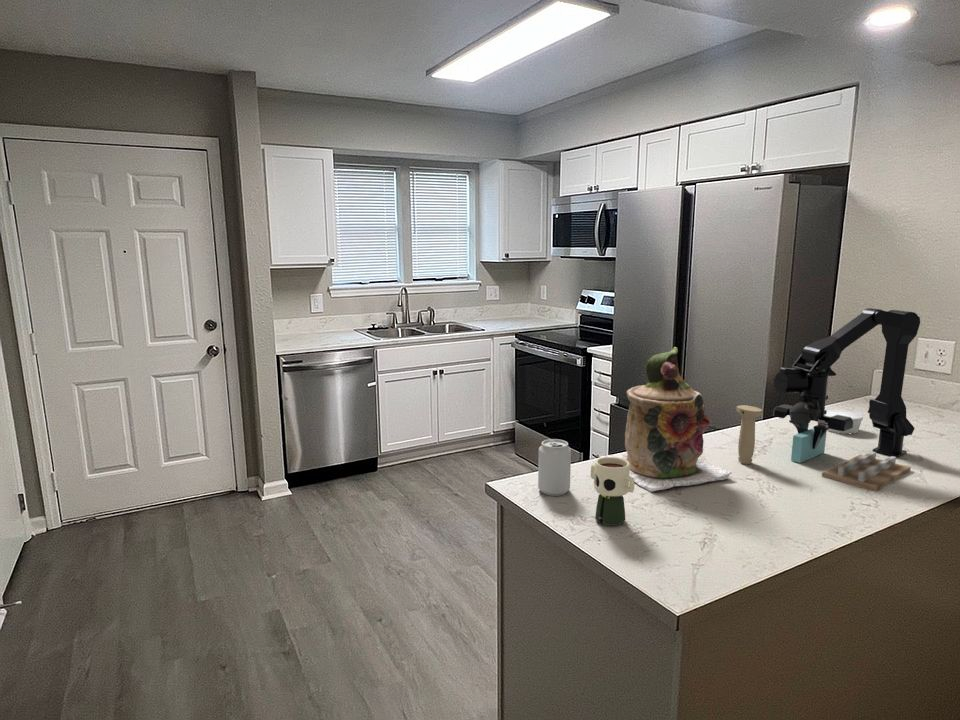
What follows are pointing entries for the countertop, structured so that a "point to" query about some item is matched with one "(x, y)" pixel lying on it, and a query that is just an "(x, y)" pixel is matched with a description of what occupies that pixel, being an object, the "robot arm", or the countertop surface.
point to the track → (867, 471)
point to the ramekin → (855, 417)
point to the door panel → (806, 446)
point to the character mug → (611, 488)
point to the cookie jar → (666, 430)
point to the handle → (747, 432)
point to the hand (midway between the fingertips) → (808, 447)
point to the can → (554, 467)
